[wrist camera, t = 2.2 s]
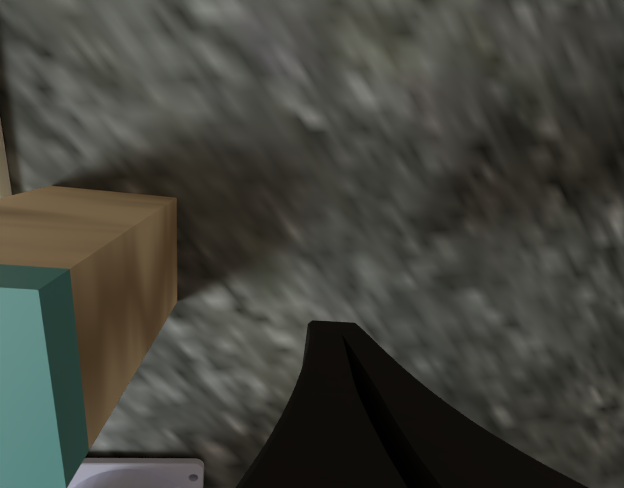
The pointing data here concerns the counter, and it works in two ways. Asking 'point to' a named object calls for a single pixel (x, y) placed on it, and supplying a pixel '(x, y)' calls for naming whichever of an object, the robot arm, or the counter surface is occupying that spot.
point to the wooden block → (75, 318)
